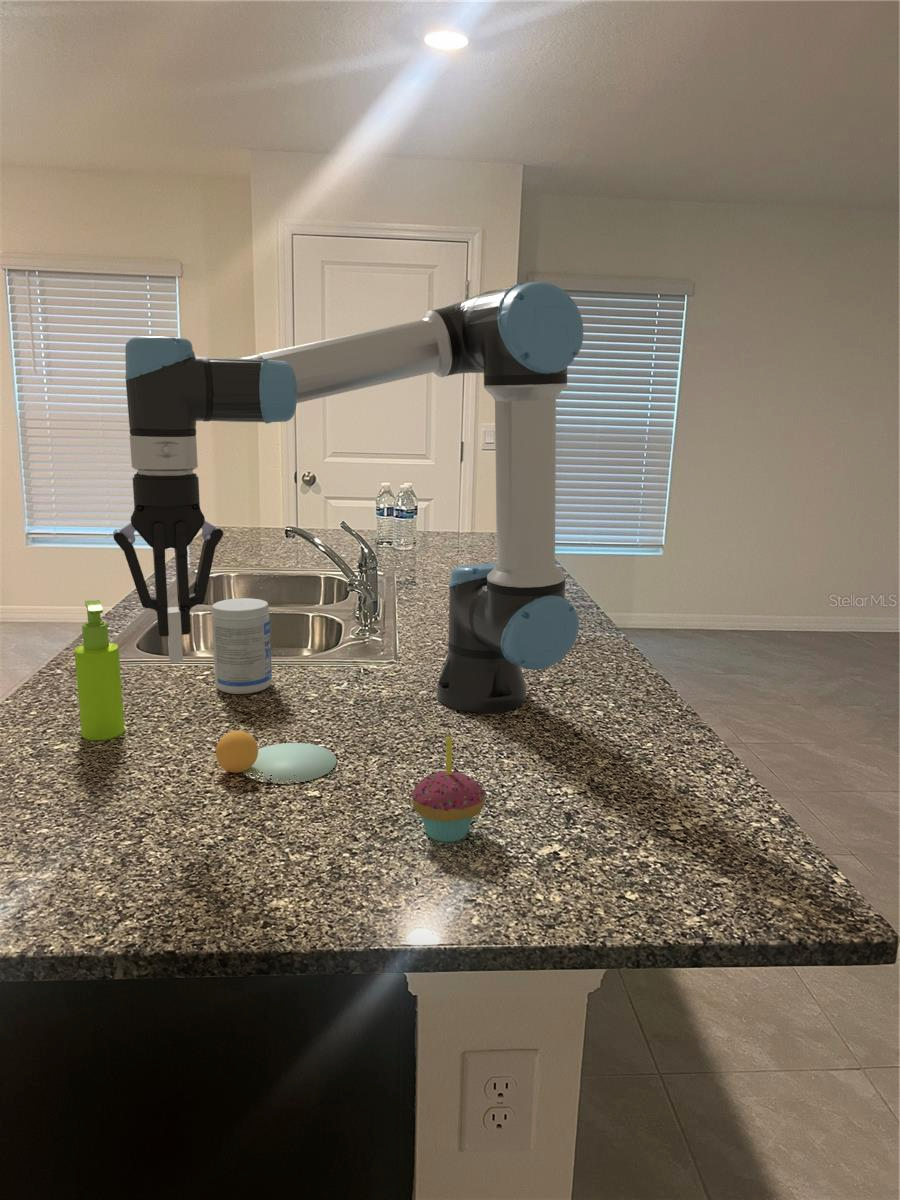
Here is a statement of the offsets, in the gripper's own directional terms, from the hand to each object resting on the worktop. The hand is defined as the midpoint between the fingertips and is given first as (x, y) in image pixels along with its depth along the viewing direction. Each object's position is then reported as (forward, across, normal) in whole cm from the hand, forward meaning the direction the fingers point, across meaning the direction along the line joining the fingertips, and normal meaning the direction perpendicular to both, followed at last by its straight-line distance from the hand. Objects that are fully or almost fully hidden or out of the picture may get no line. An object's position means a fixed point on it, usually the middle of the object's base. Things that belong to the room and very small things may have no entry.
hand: (175, 659), depth 105 cm
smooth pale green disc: (+16, +14, 0) cm, 22 cm away
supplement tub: (+17, +13, +33) cm, 39 cm away
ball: (+14, +7, 0) cm, 15 cm away
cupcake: (+17, +27, -25) cm, 40 cm away
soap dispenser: (+17, -9, +19) cm, 27 cm away
